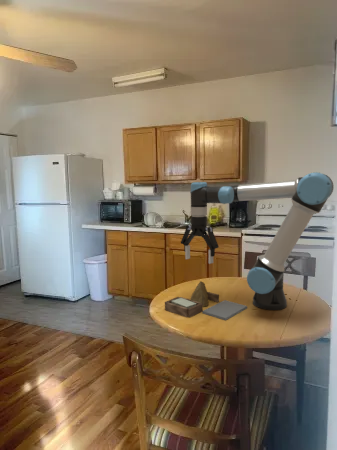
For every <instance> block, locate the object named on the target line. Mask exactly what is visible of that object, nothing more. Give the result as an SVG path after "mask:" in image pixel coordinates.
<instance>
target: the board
mask: <svg viewBox="0 0 337 450" xmlns="http://www.w3.org/2000/svg"><path fill="white" fill-rule="evenodd" d="M247 309H248V306H247V305H244V304H240V303H238V302H233V301H230V300H226V299H225V300H223V301H219V302H217V303H216V304H214V305H212V306H209V307H207V308H206V309H204V310H203V311H202V312H201V313H202V314H203V315H206V316H210V317H213V318H216V319H219V320H223V321H227V320H229V319H231V318H232V317H234V316H236V315H237V314H239V313H241V312H243V311H245V310H247Z"/></svg>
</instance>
